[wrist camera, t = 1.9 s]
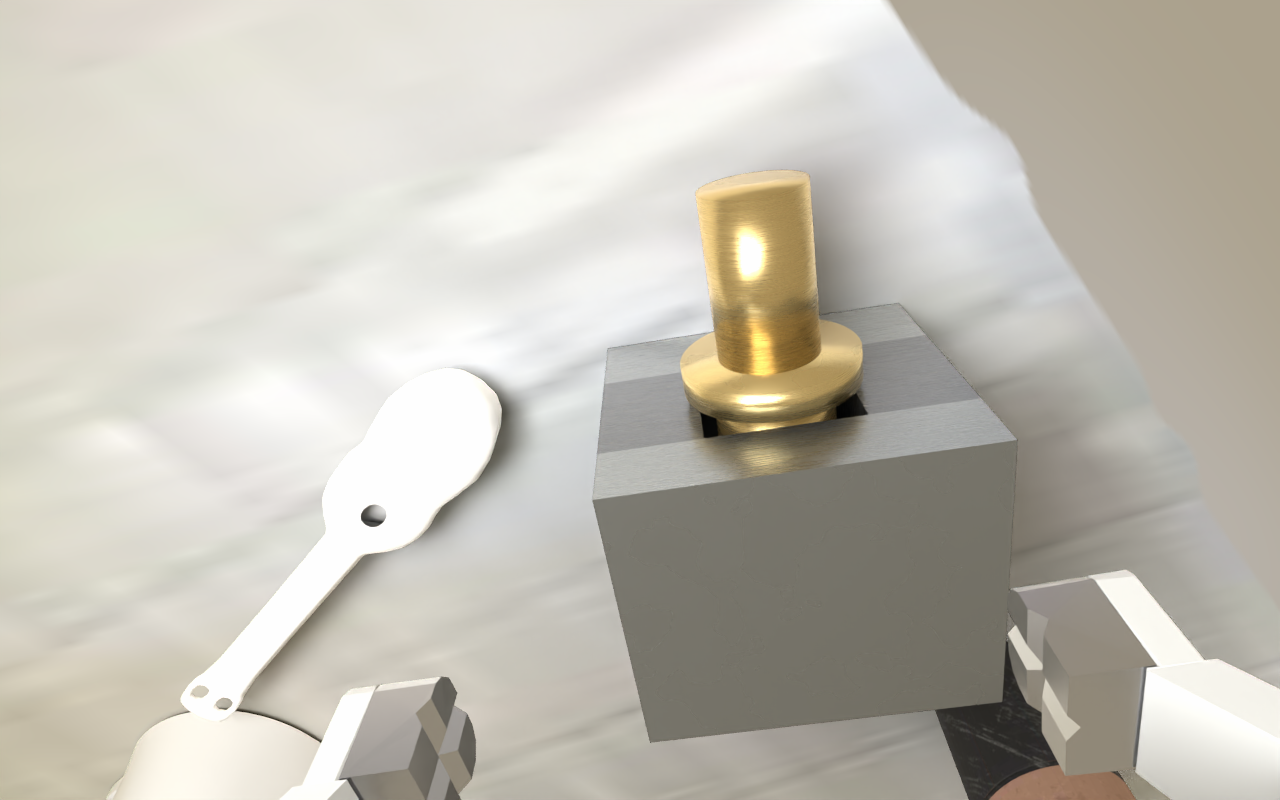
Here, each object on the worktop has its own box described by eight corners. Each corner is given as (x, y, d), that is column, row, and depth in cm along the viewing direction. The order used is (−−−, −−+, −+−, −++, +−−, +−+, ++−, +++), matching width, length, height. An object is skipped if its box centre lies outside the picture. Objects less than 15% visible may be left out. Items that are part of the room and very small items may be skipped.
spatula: (261, 701, 49) (240, 739, 46) (176, 657, 47) (149, 694, 44) (531, 403, 39) (524, 431, 37) (437, 334, 37) (422, 358, 35)
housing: (902, 510, 42) (1002, 702, 30) (647, 544, 43) (650, 742, 31) (898, 303, 37) (1017, 439, 25) (607, 348, 38) (592, 499, 26)
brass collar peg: (848, 476, 37) (890, 572, 31) (703, 497, 37) (715, 595, 31) (830, 150, 30) (879, 188, 24) (652, 181, 31) (655, 225, 24)
